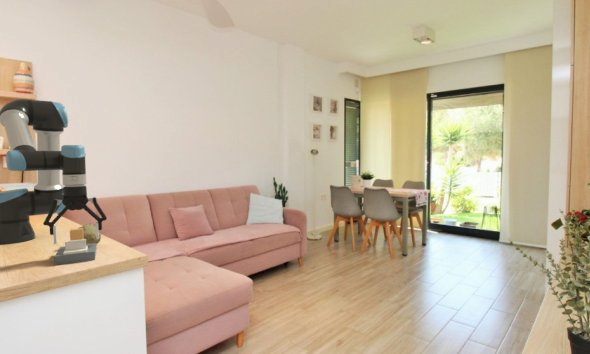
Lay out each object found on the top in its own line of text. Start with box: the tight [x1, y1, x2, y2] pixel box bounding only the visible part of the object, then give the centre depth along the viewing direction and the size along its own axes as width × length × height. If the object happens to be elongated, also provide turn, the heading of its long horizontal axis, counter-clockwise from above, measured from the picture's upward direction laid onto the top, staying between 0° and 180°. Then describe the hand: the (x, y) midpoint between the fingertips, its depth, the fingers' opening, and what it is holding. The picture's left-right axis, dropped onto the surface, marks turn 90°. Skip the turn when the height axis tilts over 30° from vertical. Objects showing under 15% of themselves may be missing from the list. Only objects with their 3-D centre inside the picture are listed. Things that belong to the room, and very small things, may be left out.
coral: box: [78, 222, 102, 245], centre depth 143 cm, size 10×10×10 cm
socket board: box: [54, 243, 97, 266], centre depth 127 cm, size 15×12×3 cm
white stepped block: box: [63, 239, 88, 255], centre depth 123 cm, size 7×7×4 cm
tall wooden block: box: [69, 227, 84, 241], centre depth 129 cm, size 4×4×10 cm
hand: (77, 240), depth 129 cm, fingers open, 13 cm apart
